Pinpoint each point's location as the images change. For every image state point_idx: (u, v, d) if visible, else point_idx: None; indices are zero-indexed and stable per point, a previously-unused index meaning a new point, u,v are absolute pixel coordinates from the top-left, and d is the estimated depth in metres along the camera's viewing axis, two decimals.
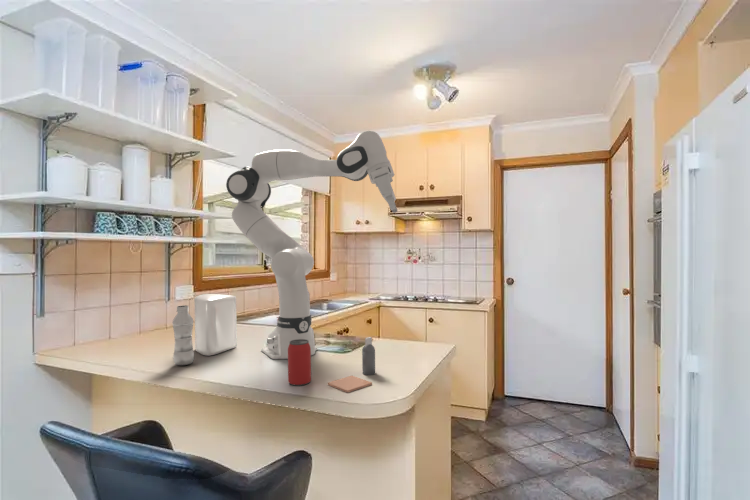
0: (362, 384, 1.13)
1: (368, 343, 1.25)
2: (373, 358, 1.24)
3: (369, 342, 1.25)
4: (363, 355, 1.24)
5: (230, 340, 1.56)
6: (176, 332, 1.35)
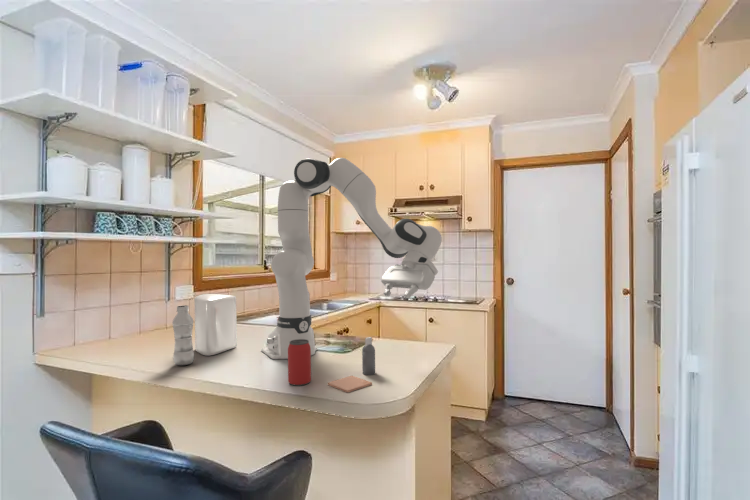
0: (362, 384, 1.13)
1: (368, 343, 1.25)
2: (373, 358, 1.24)
3: (369, 342, 1.25)
4: (363, 355, 1.24)
5: (230, 340, 1.56)
6: (176, 332, 1.35)
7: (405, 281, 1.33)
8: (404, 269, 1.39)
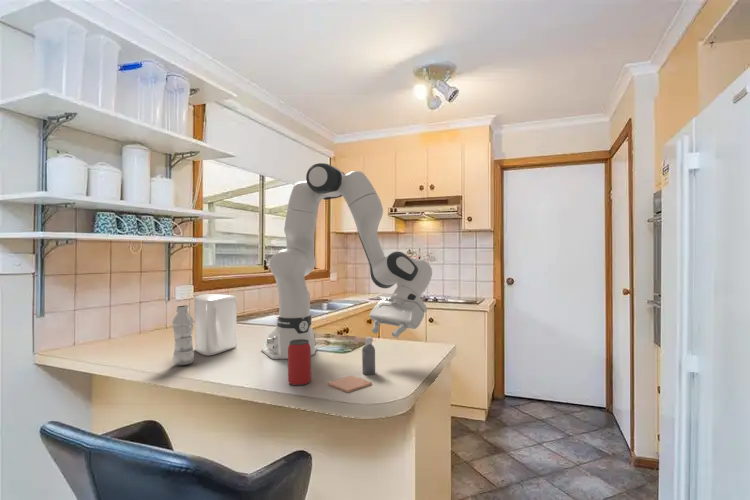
0: (362, 384, 1.13)
1: (368, 343, 1.25)
2: (373, 358, 1.24)
3: (369, 342, 1.25)
4: (363, 355, 1.24)
5: (230, 340, 1.56)
6: (176, 332, 1.35)
7: (393, 319, 1.30)
8: (393, 305, 1.35)
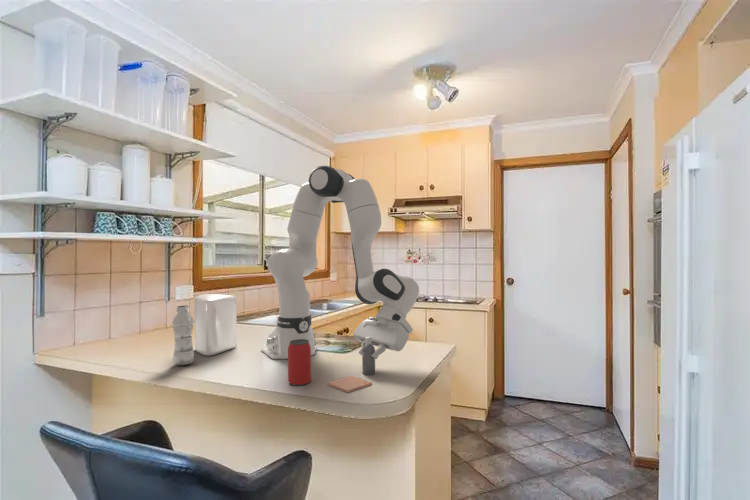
0: (362, 384, 1.13)
1: (368, 343, 1.25)
2: (373, 358, 1.24)
3: (369, 342, 1.25)
4: (363, 355, 1.24)
5: (230, 340, 1.56)
6: (176, 332, 1.35)
7: (377, 340, 1.25)
8: (377, 325, 1.30)
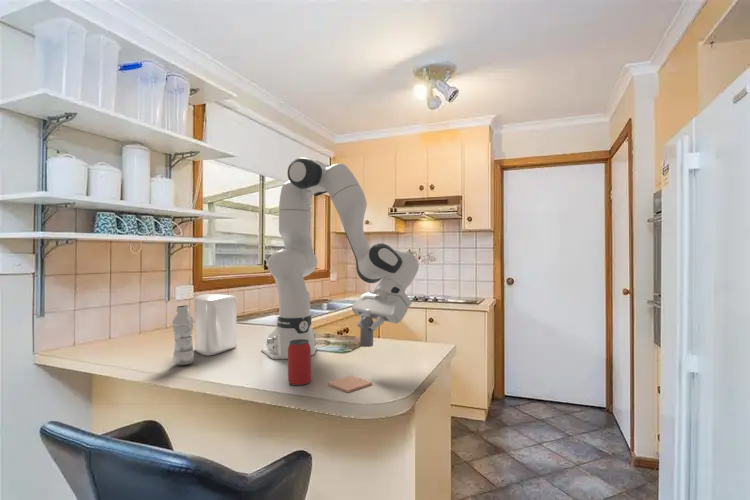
0: (362, 384, 1.13)
1: (366, 315, 1.25)
2: (371, 330, 1.24)
3: (367, 314, 1.25)
4: (361, 327, 1.24)
5: (230, 340, 1.56)
6: (176, 332, 1.35)
7: (376, 312, 1.25)
8: (376, 298, 1.30)
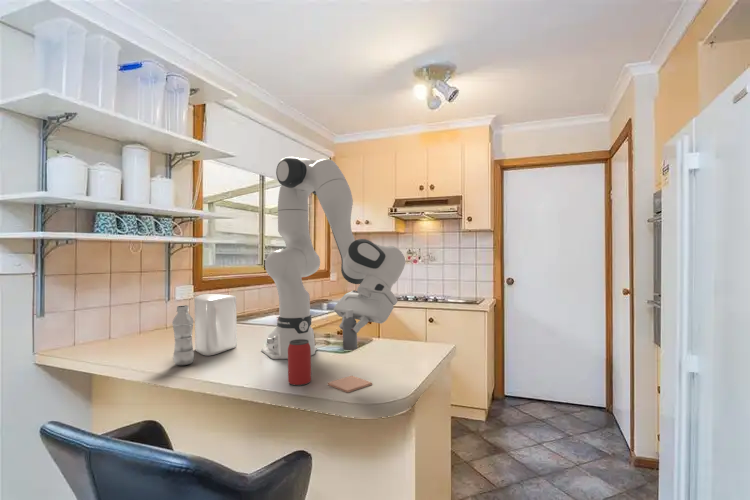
0: (362, 384, 1.13)
1: (349, 315, 1.14)
2: (354, 332, 1.13)
3: (350, 314, 1.14)
4: (343, 329, 1.14)
5: (230, 340, 1.56)
6: (176, 332, 1.35)
7: (359, 312, 1.14)
8: (359, 297, 1.19)
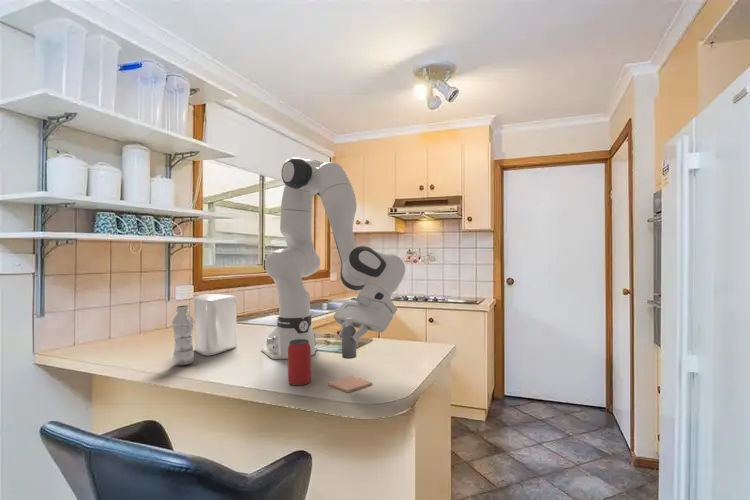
0: (362, 384, 1.13)
1: (348, 324, 1.14)
2: None
3: (349, 323, 1.14)
4: (343, 337, 1.14)
5: (230, 340, 1.56)
6: (176, 332, 1.35)
7: (358, 321, 1.14)
8: (359, 305, 1.19)
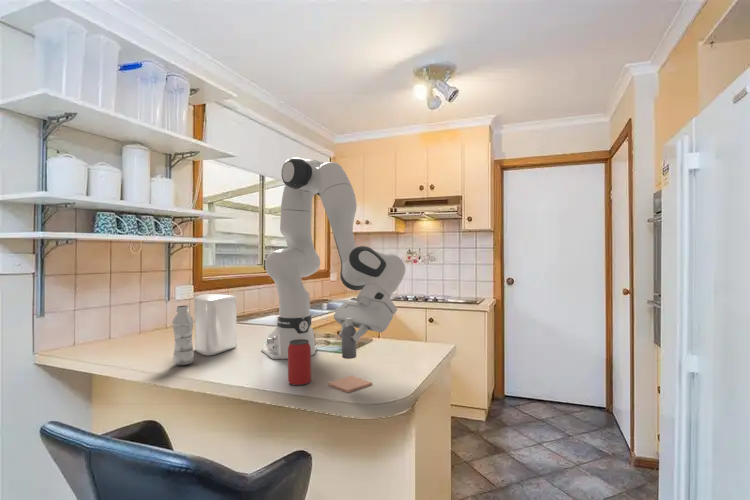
0: (362, 384, 1.13)
1: (348, 324, 1.14)
2: None
3: (349, 323, 1.14)
4: (343, 337, 1.14)
5: (230, 340, 1.56)
6: (176, 332, 1.35)
7: (358, 321, 1.14)
8: (359, 305, 1.19)
